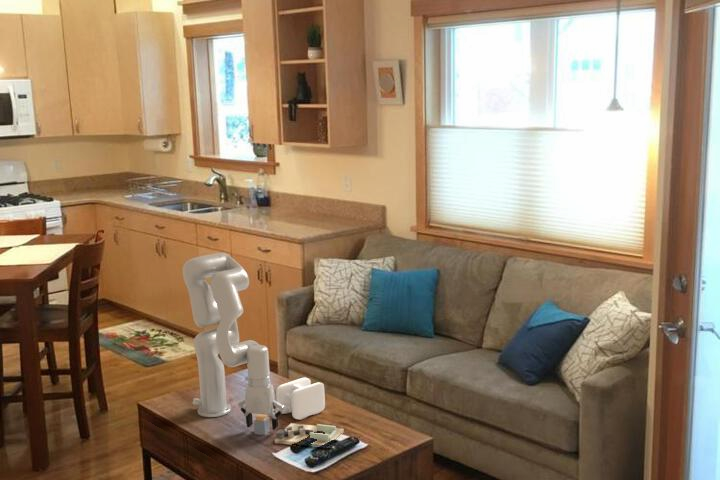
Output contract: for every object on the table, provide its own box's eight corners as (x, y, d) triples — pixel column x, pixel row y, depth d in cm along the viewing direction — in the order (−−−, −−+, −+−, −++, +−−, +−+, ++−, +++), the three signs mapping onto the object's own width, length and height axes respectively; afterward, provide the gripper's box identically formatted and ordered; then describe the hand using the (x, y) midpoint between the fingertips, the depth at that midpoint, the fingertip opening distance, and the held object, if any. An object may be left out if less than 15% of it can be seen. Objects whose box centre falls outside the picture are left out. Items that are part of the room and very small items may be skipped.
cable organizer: (293, 423, 284) (291, 392, 282) (276, 415, 292) (274, 385, 290) (325, 411, 294) (324, 382, 292) (308, 403, 302) (307, 375, 300)
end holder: (309, 439, 268) (309, 433, 267) (317, 430, 275) (317, 424, 274) (329, 441, 265) (329, 435, 265) (337, 432, 272) (337, 426, 272)
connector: (254, 434, 276) (253, 418, 275) (259, 429, 280) (258, 413, 279) (265, 435, 275) (264, 419, 274) (269, 430, 279) (269, 414, 278)
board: (275, 442, 268) (274, 433, 268) (291, 426, 281) (290, 416, 281) (329, 449, 262) (329, 439, 262) (343, 431, 275) (343, 422, 275)
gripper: (232, 382, 273) (235, 429, 276) (277, 386, 268) (280, 433, 271) (241, 375, 280) (245, 420, 283) (286, 378, 275) (289, 424, 278)
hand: (262, 426), depth 277 cm, fingers open, 9 cm apart
